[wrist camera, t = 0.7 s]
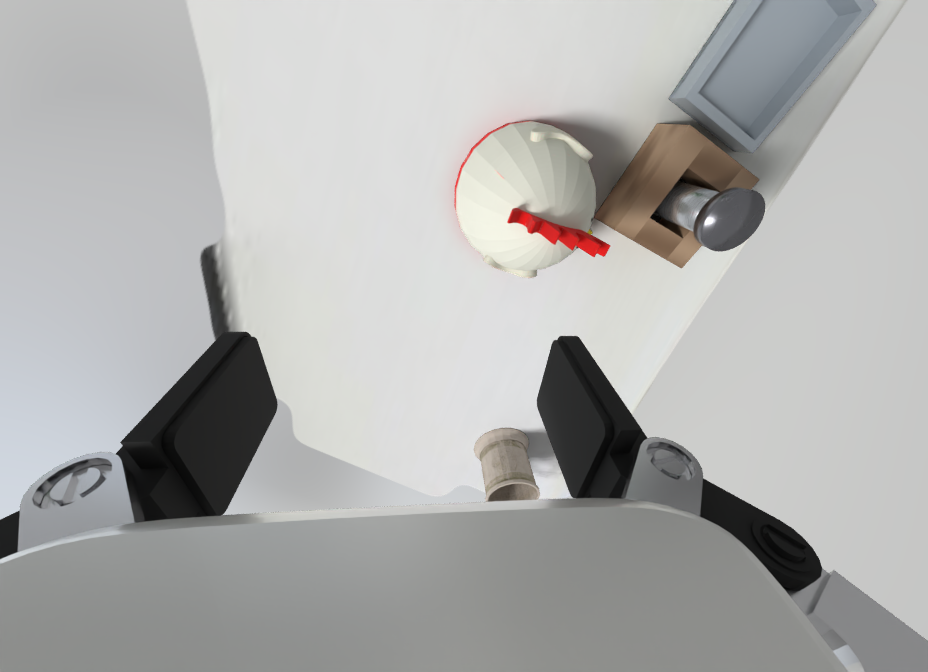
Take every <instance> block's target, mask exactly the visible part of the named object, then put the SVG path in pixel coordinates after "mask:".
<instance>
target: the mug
mask: <svg viewBox="0 0 928 672" xmlns="http://www.w3.org/2000/svg"><path fill="white" fill-rule="evenodd" d="M528 445H529V442H528V438H527V436H526V435H525V434H524V433H523V432H521V431H519V430H517V429H512V428H500V429H495V430H492V431H489V432H487V433H485V434H484V435H482V436H481V437H480V438H479V439H478V440H477V442H476V443H475V446H474V452H475V455H476V457H477V458H478V459H479V460H480V461H481V465H482V471H483V478H484V484H485V491H486V498H485V500H486V502H494V501H517V500H538V498H539V496H540V492H539V488H538V486H537V485H536V483H535V479H534V476H533V473H532V469H531V466H530V462H529V459H528V456H527V449H528Z"/></svg>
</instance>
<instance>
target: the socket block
mask: <svg viewBox="0 0 928 672" xmlns="http://www.w3.org/2000/svg"><path fill="white" fill-rule="evenodd" d="M680 178H681V179H683V180H684V181H685V182H687V183H688V184H690V185H694V186H698V187H702V188H705V189H709V190H713V191H717V192H721V191H723V190H725V189H729V188H733V187H740V188H745V189H749V190H751V189H752V188H753V187H754V185H755V184H756V183H757V182H758V181H759V179H758V178H757V177H756V176H754V175H753V174H752V173H751V172H749V171H748V170H747V169H745V168H744V167H743V166H742V165H740V164H739V163H738V162H737V161H735V160H734V159H733V158H732V157H730V156H729V155H728V154H726V153H725V152H724V151H723V150H721V149H720V148H719V147H718V146H716V145H715V144H714V143H713V142H711V141H710V140H709V139H707V138H706V137H705V136H704V135H702V134H701V133H700V132H699V131H697V130H696V129H695V128H694V127H692V126H691V125H680V124H656V126H655V127H654V129H653V130H652V132H651V133H650V135H649V136H648V138H647V139H646V141H645V142H644V144H643V145H642V147H641V148H640V150H639V151H638V153H637V154H636V156H635V157H634V159H633V160H632V162H631V163H630V164H629V166H628V167H627V169H626V170H625V172H624V173H623V175H622V176H621V178H620V179H619V181H618V182H617V184H616V185H615V187H614V188H613V190H612V191H611V193H610V194H609V196H608V197H607V199H606V200H605V202H604V203H603V204H602V206H601V207H600V209H599V210H598V212H597V213H596V215H595V216H594V218H596V219H598V220H599V221H601V222H603V223H604V224H606V225H607V226H609V227H611V228H612V229H614V230H616V231H617V232H619V233H621V234H623V235H624V236H626V237H628V238H629V239H631V240H633V241H635V242H636V243H638V244H640V245H642V246H643V247H645V248H647V249H649V250H650V251H652V252H654V253H656V254H657V255H659V256H661V257H663V258H664V259H666V260H668V261H670V262H671V263H673V264H675V265H676V266H678V267H680V268H683V266H684V265H685V264H686V263H687V262H688V261H689V260H690V258H691V257H692V256H693V255H694V254H695V253H696V252H697V250H698V249H699V248H700V247H701V246H702V245H701V244H699V243H698V242H697V241H696V239H695V237H694V232H693V231H691V230H688V229H686V228H684V227H682V226H679V225H677V224H675V223H672V222H670V221H668V220H666V219H663V218H661V220H660V221H659V222H658V223H657V222H656V221H654V220H652V219H651V218H650V217H651V215H652V214H653V213H654V211H655V210H656V209H657V207H658V206H659V205H660V204H661V202H662V201H663V200H664V198H665V197H666V196H667V194H668V193H669V192H670V190H671V189H672V188H673V186H674V185H675V184H676V182H677V181H678V180H679V179H680Z"/></svg>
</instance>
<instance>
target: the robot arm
mask: <svg viewBox="0 0 928 672" xmlns="http://www.w3.org/2000/svg"><path fill="white" fill-rule="evenodd" d="M537 407H538V410H539V413H540V416H541V418H542V421H543V423H544V426H545V429H546V431H547V434H548V437H549V439H550V442H551V445H552V447H553V450H554V453H555V455H556V458H557V460H558V463H559V466H560V468H561V471H562V474H563V476H564V479H565V482H566V484H567V487H568V490H569V492H570V494H571V496H572V497H573V498H576V499H539V500H517V501H494V502H471V503H449V504H428V505H409V506H389V507H388V506H387V507H368V508H347V509H328V510H309V511H292V512H275V513H274V512H273V513H254V514H237V515H223V514H224V513H225V511H226V509H227V508H228V506H229V504H230V502H231V500H232V498H233V496H234V494H235V492H236V490H237V488H238V486H239V484H240V482H241V480H242V478H243V476H244V474H245V472H246V470H247V468H248V466H249V465H250V462H251V461H252V458H253V457H254V455H255V453H256V451H257V449H258V447H259V445H260V443H261V441H262V439H263V437H264V435H265V433H266V431H267V429H268V427H269V425H270V423H271V421H272V419H273V417H274V415H275V413H276V410H277V399H276V396H275V393H274V390H273V387H272V384H271V381H270V378H269V375H268V372H267V369H266V366H265V362H264V359H263V356H262V353H261V350H260V347H259V344H258V341H257V339H256V338H255V337H251V335H250V334H249V333H247V332H224V333H223V334H221V336H220V337H219V338H218V339H217V340H216V341H215V342H214V343H213V344H212V345H211V346H210V347H209V348H208V349H207V351H206V352H205V353H204V354H203V355H202V356H201V357H200V358H199V359H198V360H197V361H196V362H195V363H194V364H193V365H192V366H191V368H190V369H189V370H188V371H187V372H186V373H185V374H184V375H183V376H182V377H181V378H180V379H179V380H178V381H177V383H176V384H175V385H174V386H173V387H172V388H171V389H170V390H169V391H168V392H167V393H166V394H165V395H164V396H163V397H162V399H161V400H160V401H159V402H158V403H157V404H156V405H155V406H154V407H153V408H152V409H151V410H150V411H149V412H148V414H147V415H146V416H145V417H144V418H143V419H142V420H141V421H140V422H139V423H138V424H137V425H136V426H135V427H134V428H133V430H132V431H131V432H130V433H129V434H128V435H127V436H126V437H125V438H124V439H123V440H122V441H121V444H122V445H123V446H122V448H121V449H120V450H119V451H118V452H117V453H116V454H113V453H111V452H97V453H92V454H87V455H83V456H80V457H77V458H74V459H72V460H70V461H67V462H65V463H63V464H61V465H59V466H57V467H56V468H54V469H52V470H51V471H49V472H48V473H46V474H45V475H43V476H42V477H41V478H40V479H38V480H37V481H36V482H35V483H34V484H33V485H31V487H30V488H29V489H28V491H27V492H26V493H25V494H24V496H23V498H22V501H21V504H20V511H18V512H16V513H13V514H11V515H9V516H7V517H5V518H3V519H1V520H0V672H928V641H927V640H926V639H925V638H923V637H922V636H921V635H919V634H918V633H917V632H915V631H914V630H913V629H911V628H910V627H909V626H907V625H906V624H905V623H903V622H902V621H901V620H899V619H898V618H897V617H895V616H894V615H893V614H891V613H890V612H889V611H887V610H886V609H885V608H883V607H882V606H881V605H880V604H878V603H877V602H876V601H874V600H873V599H872V598H870V597H869V596H868V595H866V594H865V593H864V592H862V591H861V590H860V589H858V588H857V587H855V586H854V585H853V584H851V583H850V582H849V581H848V580H846V579H845V578H844V577H842V576H841V575H840V574H838V573H837V572H836V571H834V570H833V571H832V572H830V573H827V572H826V571H825V570H824V569H822V567H821V563H820V560H819V558H818V556H817V555H816V553H815V551H814V550H813V548H812V547H811V546H810V545H809V544H808V543H807V542H806V540H805V539H804V538H803V537H802V536H801V535H799V534H798V533H797V532H796V531H795V530H794V529H792V528H791V527H789V526H788V525H786V524H785V523H783V522H782V521H780V520H778V519H776V518H775V517H773V516H771V515H769V514H767V513H765V512H763V511H762V510H760V509H758V508H756V507H754V506H752V505H751V504H749V503H747V502H745V501H743V500H742V499H740V498H738V497H736V496H734V495H732V494H731V493H729V492H726V491H725V490H723V489H721V488H720V487H718V486H716V485H714V484H712V483H710V482H709V481H707V480H705V479H703V472H702V468H701V466H700V464H699V462H698V461H697V459H696V458H695V457H694V456H693V455H692V454H691V453H690V452H689V451H688V450H686V449H685V448H684V447H682V446H681V445H679V444H677V443H675V442H673V441H671V440H668V439H665V438H659V437H652V438H647V437H646V435H645V434H644V432H643V431H642V429H641V428H640V426H639V425H638V423H637V422H636V420H635V419H634V417H633V416H632V414H631V413H630V411H629V410H628V409H627V407H626V406H625V404H624V403H623V401H622V400H621V398H620V397H619V395H618V394H617V392H616V391H615V390H614V388H613V387H612V385H611V384H610V382H609V381H608V379H607V378H606V376H605V375H604V373H603V372H602V371H601V369H600V368H599V366H598V365H597V363H596V362H595V360H594V359H593V357H592V356H591V354H590V353H589V351H588V350H587V349H586V347H585V346H584V344H583V343H582V341H581V340H580V338H579V337H577V336H560V337H559V338H558V340H554V341H553V343H552V346H551V350H550V354H549V357H548V361H547V365H546V368H545V372H544V375H543V379H542V383H541V386H540V390H539V394H538V397H537Z"/></svg>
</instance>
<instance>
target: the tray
mask: <svg viewBox="0 0 928 672" xmlns="http://www.w3.org/2000/svg"><path fill="white" fill-rule="evenodd" d="M875 7H876V3H875V2H874V1H873V0H734V1H733V3H732V4H731V6H730V7H729V9H728V10H727V12H726V13H725V15H724V16H723V18H722V19H721V21H720V22H719V24H718V25H717V27H716V28H715V30H714V31H713V33H712V34H711V36H710V37H709V39H708V40H707V42H706V43H705V45H704V46H703V48H702V49H701V51H700V52H699V54H698V55H697V57H696V58H695V60H694V61H693V63H692V64H691V66H690V67H689V69H688V70H687V72H686V73H685V75H684V76H683V78H682V79H681V81H680V82H679V84H678V85H677V87H676V88H675V90H674V91H673V93H672V94H671V96H670V97H669V100H671V101H672V102H673V103H674V104H676V105H677V106H678V107H679V108H681V109H682V110H683V111H684V112H686V113H687V114H688V115H689V116H691V117H692V118H693V119H694V120H696V121H697V122H698V123H699V124H701V125H702V126H703V127H704V128H705V129H707V130H708V131H709V132H710V133H712V134H713V135H714V136H715V137H717V138H718V139H719V140H720V141H722V142H723V143H724V144H725V145H727V146H728V147H729V148H730V149H732V150H733V151H737V152H746V153H754V151H755V150H756V149H757V148H758V147H759V145H760V144H761V143H762V142H763V141H764V139H765V138H766V137H767V136H768V135H769V134H770V132H771V131H772V130H773V129H774V128H775V126H776V125H777V124H778V123H779V122H780V120H781V119H782V118H783V117H784V116H785V114H786V113H787V112H788V111H789V110H790V108H791V107H792V106H793V105H794V104H795V102H796V101H797V100H798V99H799V98H800V96H801V95H802V94H803V93H804V92H805V90H806V89H807V88H808V87H809V86H810V84H811V83H812V82H813V81H814V80H815V78H816V77H817V76H818V75H819V74H820V72H821V71H822V70H823V69H824V68H825V66H826V65H827V64H828V63H829V62H830V60H831V59H832V58H833V57H834V56H835V54H836V53H837V52H838V51H839V50H840V48H841V47H842V46H843V45H844V44H845V43H846V41H847V40H848V39H849V38H850V37H851V35H852V34H853V33H854V32H855V31H856V29H857V28H858V27H859V26H860V25H861V23H862V22H863V21H864V20H865V19H866V17H867V16H868V15H869V14H870V13H871V11H872V10H873V9H874V8H875Z"/></svg>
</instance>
